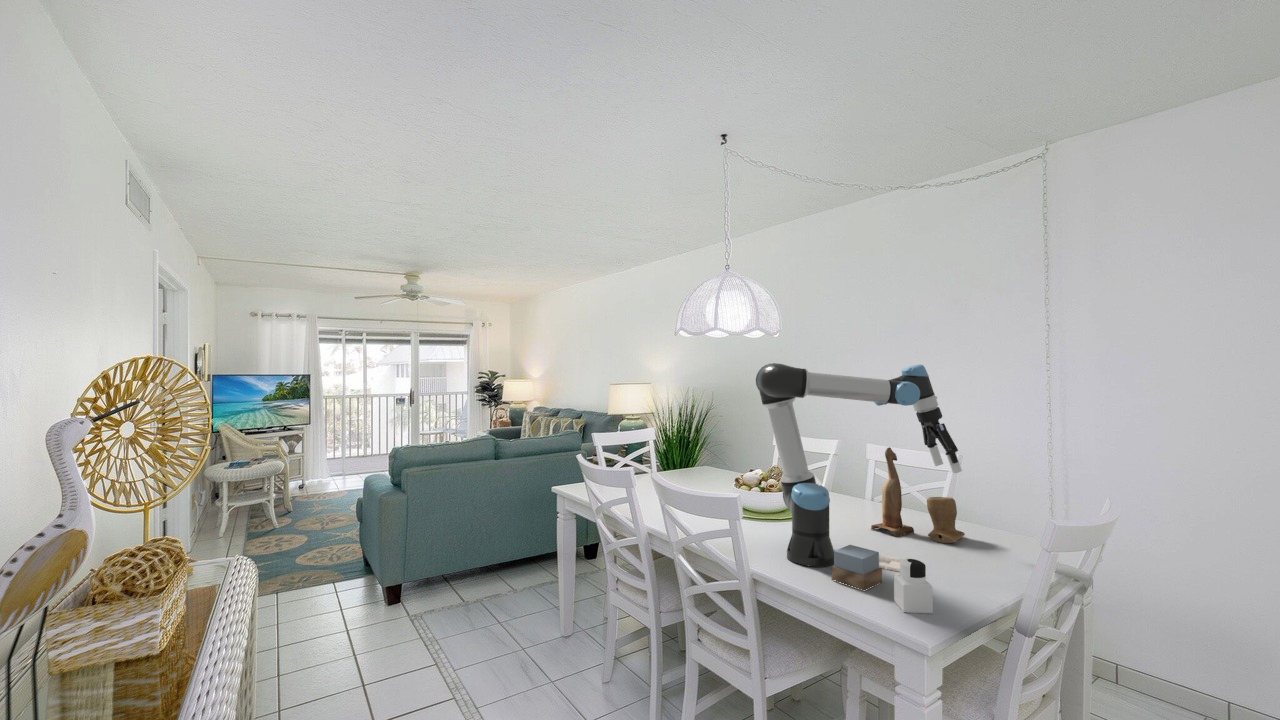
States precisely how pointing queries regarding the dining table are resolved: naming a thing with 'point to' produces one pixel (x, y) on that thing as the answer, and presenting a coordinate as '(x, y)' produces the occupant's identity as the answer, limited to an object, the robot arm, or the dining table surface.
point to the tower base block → (857, 578)
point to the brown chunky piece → (943, 519)
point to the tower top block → (856, 559)
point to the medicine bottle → (913, 588)
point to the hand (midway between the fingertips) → (948, 468)
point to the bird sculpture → (892, 500)
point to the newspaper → (889, 563)
